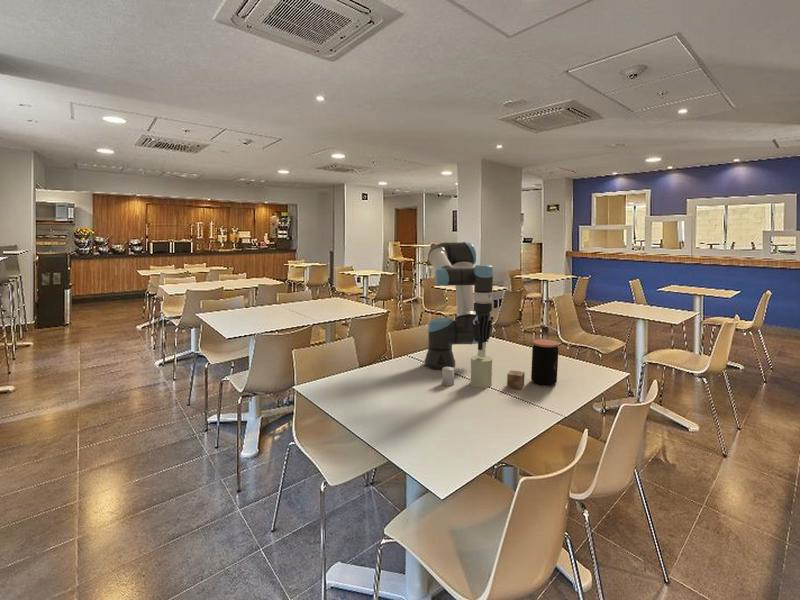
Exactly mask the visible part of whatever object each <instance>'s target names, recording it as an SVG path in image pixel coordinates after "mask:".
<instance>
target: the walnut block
mask: <svg viewBox="0 0 800 600" xmlns="http://www.w3.org/2000/svg"><path fill="white" fill-rule="evenodd" d="M506 374H507V376H506V377H507V378H506V388H507V389H514V390H519V391H520V390H521V391H522V390H523V388H524V387H525V377H526V376H525V374H526V373H525V371H521V370H511V369H510V370H509V371H508V372H507V373H506Z"/></svg>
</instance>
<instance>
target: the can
mask: <svg viewBox="0 0 800 600" xmlns="http://www.w3.org/2000/svg"><path fill="white" fill-rule="evenodd" d="M492 371H493V357H491V356H488V355H485V357H484V358H482V357H478V355H473V356H471V357H470V381H469V383H470V385H471V386H472V387H475V388H480V389H486V388H491V387H492V386H493V383H492V382H493V381H492V379H493V377H492V376H493V372H492Z"/></svg>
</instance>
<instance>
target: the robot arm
mask: <svg viewBox="0 0 800 600" xmlns="http://www.w3.org/2000/svg"><path fill="white" fill-rule="evenodd" d="M427 257H428V258H427V259H428V262H429V263H430V265H431V266H433V267H434V269H435V272H434V273H435V275H434V278H435V280H434V281H435V284H436V285H437V286H442V287H447V286H449V287H451V286H453V287H455V296H456V297H455V298H456V309H457V311H456V312H457V314H456V316H455V317H454V320H453V318H452V317H451V316H450V317H449V316H448V317H446V316H445V317H444V316H443V317H442V316H441V317H436V318H433V319H431V320H430V321H429V322H428V327H427V333H428V334H427V335H428V339H427V343H428V344H427V349H428V350H427V352H426V357H425V358H424V367H426V368H428V369H432V370H438V371H440V370H441V371H442V368H443V367H453V368H454V369H455V367H456V359H455V357H454V352H453V345H477V356H478V357H482V358H484V357H485V356H486V350H487V349H486V348H487V343H489V340H490V336H491V330H492V324H493V321H494V316H491V313H490V312H492V311H493V303H492V301H493V287H494V286H493V285H494V281H493V279H494V267H493V265H490V264H476V262H477V252H476V248H475V245H474V244H473V243H472V242H467V241H466V242H465V241H461V242H447V241H446V242H439V243H437V244H436V245H434V246H433V247H431V248H430V250H429V251H428V254H427ZM475 264H476V265H475ZM474 265H475V266H474Z"/></svg>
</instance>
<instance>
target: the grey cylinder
mask: <svg viewBox="0 0 800 600" xmlns="http://www.w3.org/2000/svg"><path fill="white" fill-rule="evenodd" d="M441 371H442V374H441V375H442V376H441V377H442V380H441V381H442V382H441V386H445V387H453V386H454V385H455V367H454V368H453V367H443V368H442V370H441Z"/></svg>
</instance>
